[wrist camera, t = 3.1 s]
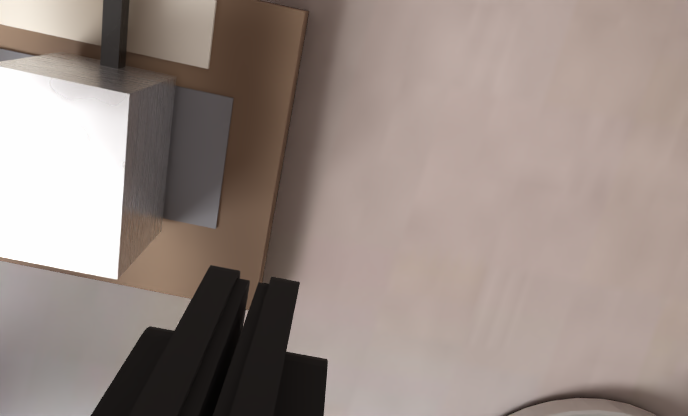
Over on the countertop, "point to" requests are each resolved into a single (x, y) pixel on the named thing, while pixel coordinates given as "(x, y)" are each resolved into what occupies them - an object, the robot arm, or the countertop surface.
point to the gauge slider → (83, 155)
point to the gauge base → (193, 120)
